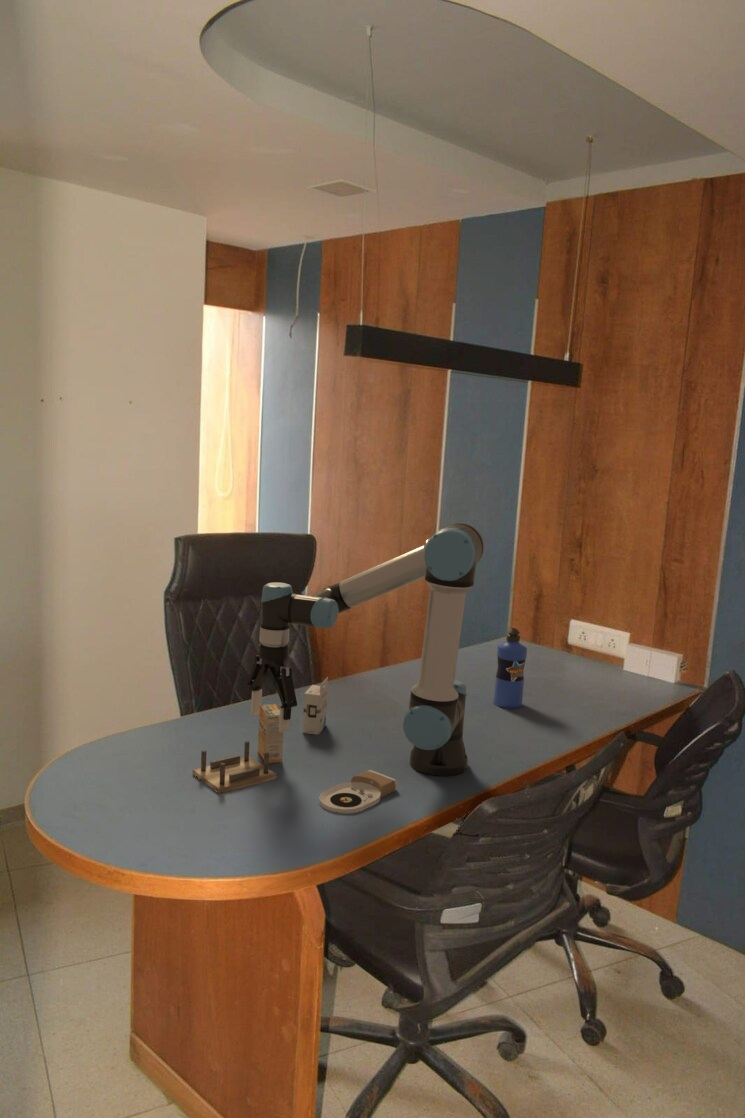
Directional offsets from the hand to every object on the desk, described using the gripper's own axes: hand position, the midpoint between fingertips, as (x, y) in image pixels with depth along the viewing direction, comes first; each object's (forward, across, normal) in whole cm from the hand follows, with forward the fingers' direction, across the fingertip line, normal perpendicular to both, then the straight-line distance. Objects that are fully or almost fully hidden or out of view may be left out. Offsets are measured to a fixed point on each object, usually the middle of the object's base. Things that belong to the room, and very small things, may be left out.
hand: (269, 722), depth 230 cm
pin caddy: (+9, -6, +14) cm, 18 cm away
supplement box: (+10, 0, 0) cm, 10 cm away
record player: (+10, -32, -5) cm, 33 cm away
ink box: (+10, +10, -22) cm, 26 cm away
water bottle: (+9, -2, -89) cm, 90 cm away
